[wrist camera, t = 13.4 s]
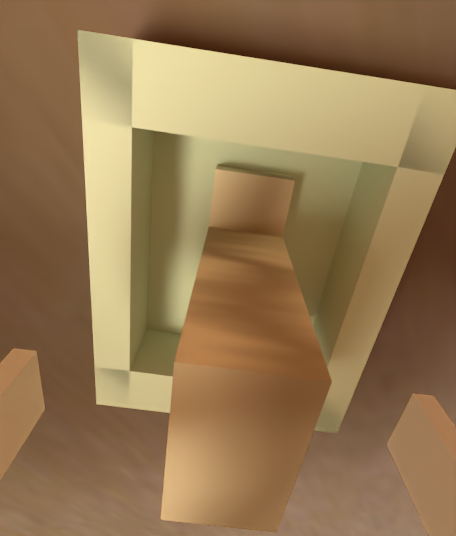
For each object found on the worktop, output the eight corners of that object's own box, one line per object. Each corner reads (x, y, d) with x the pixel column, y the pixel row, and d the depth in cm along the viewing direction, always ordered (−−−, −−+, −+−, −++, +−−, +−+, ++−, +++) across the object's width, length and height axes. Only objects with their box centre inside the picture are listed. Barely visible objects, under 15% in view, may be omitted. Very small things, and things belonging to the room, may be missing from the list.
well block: (122, 350, 25) (96, 404, 20) (121, 51, 16) (77, 29, 12) (319, 375, 25) (337, 433, 21) (414, 97, 17) (477, 93, 12)
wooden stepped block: (198, 318, 22) (160, 519, 11) (217, 164, 18) (183, 251, 7) (258, 326, 22) (276, 532, 11) (290, 175, 18) (370, 277, 7)
